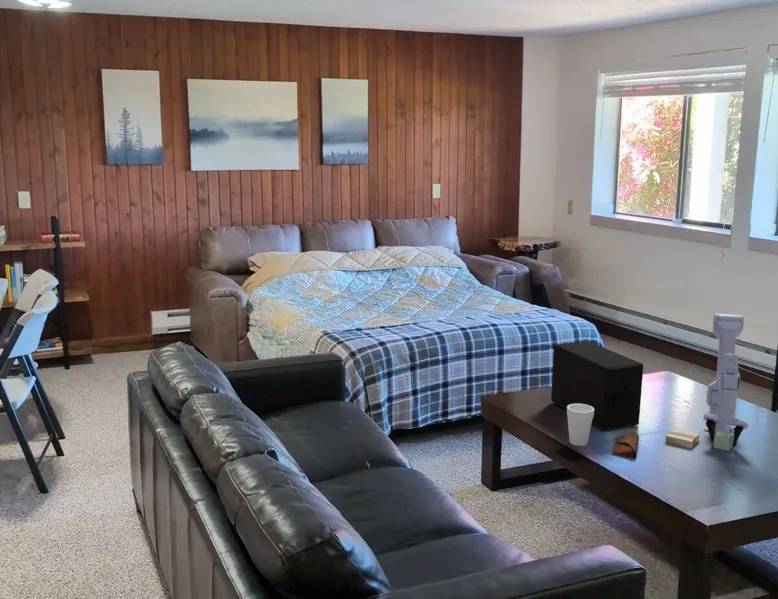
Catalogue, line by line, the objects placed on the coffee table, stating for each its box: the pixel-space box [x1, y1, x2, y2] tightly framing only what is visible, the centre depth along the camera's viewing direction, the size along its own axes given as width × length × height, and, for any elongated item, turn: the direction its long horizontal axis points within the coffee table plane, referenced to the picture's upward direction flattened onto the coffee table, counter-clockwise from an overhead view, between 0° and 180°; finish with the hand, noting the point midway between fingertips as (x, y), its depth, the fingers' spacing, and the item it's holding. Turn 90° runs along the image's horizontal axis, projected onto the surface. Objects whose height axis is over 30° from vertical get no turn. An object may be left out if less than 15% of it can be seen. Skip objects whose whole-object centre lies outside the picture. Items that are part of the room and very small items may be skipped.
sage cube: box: [713, 430, 734, 452], centre depth 280 cm, size 5×5×5 cm
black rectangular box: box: [550, 341, 644, 431], centre depth 309 cm, size 38×20×25 cm, turn 21°
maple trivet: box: [664, 428, 700, 449], centre depth 285 cm, size 9×9×3 cm
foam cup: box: [566, 404, 594, 447], centre depth 283 cm, size 10×9×13 cm
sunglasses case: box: [611, 431, 640, 460], centre depth 279 cm, size 18×7×7 cm
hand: (723, 443), depth 281 cm, fingers open, 7 cm apart
